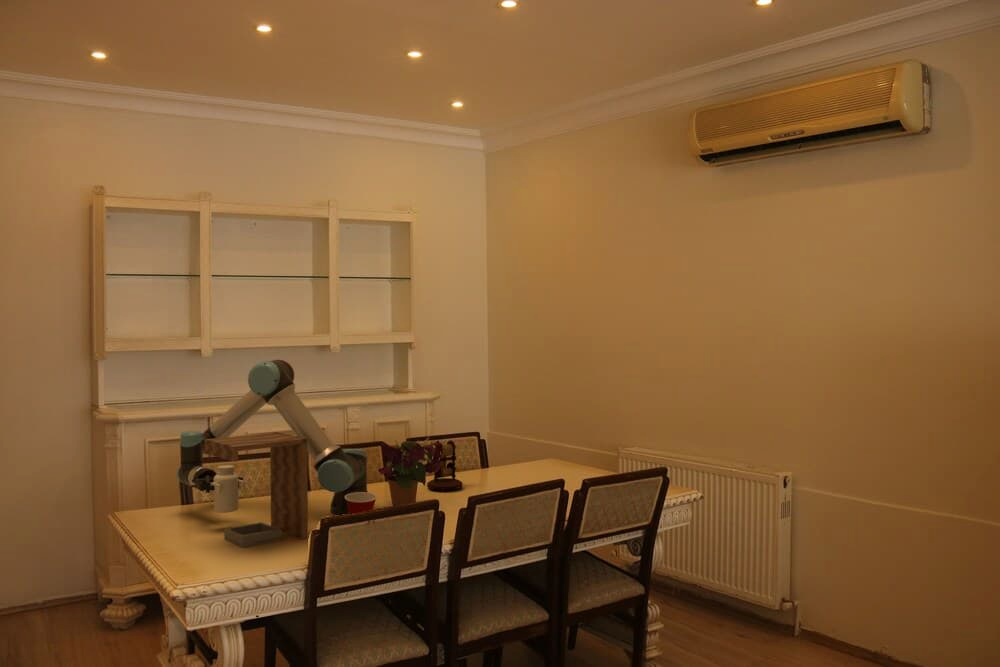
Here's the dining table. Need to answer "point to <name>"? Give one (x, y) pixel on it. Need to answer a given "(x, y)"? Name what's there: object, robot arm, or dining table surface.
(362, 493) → the plastic cup
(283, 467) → the wooden l-shaped stand
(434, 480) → the dark mug tree
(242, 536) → the tray
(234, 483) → the pill bottle
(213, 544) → the dining table surface
